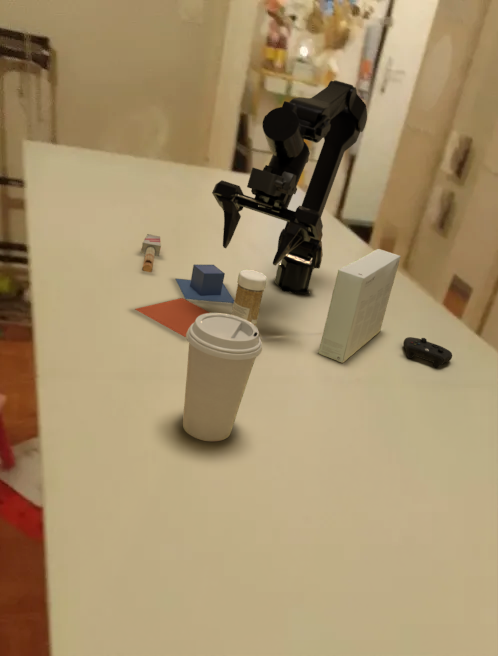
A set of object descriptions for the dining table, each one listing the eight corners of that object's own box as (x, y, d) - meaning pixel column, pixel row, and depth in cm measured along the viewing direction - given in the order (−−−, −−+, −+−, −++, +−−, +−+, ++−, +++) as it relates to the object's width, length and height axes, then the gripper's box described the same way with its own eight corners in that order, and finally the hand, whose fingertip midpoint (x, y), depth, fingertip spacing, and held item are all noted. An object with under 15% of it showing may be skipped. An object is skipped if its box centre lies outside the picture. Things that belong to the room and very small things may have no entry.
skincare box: (355, 322, 137) (378, 247, 130) (380, 332, 136) (404, 256, 128) (314, 352, 120) (337, 267, 112) (342, 364, 118) (367, 278, 111)
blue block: (209, 285, 135) (213, 264, 133) (220, 295, 132) (224, 273, 130) (189, 286, 132) (193, 264, 130) (200, 295, 129) (204, 273, 127)
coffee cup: (213, 457, 85) (236, 351, 78) (155, 424, 88) (172, 319, 81) (255, 431, 92) (279, 332, 85) (201, 401, 96) (220, 304, 89)
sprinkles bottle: (255, 354, 113) (273, 279, 107) (232, 356, 111) (248, 279, 104) (242, 342, 116) (258, 268, 110) (219, 343, 114) (234, 268, 107)
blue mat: (222, 285, 138) (223, 283, 138) (235, 305, 130) (236, 303, 130) (174, 280, 134) (175, 278, 134) (185, 300, 126) (185, 298, 126)
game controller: (452, 355, 131) (457, 343, 126) (443, 379, 130) (448, 368, 124) (405, 339, 133) (408, 326, 127) (395, 362, 132) (398, 350, 126)
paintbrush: (163, 230, 150) (157, 264, 133) (161, 242, 151) (155, 277, 135) (146, 227, 149) (137, 260, 132) (144, 238, 150) (136, 273, 134)
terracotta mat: (181, 299, 126) (182, 297, 126) (230, 325, 122) (230, 323, 121) (134, 310, 117) (134, 308, 117) (184, 339, 112) (185, 336, 112)
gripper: (222, 130, 108) (184, 219, 107) (330, 164, 104) (292, 255, 103) (238, 165, 119) (204, 245, 118) (336, 196, 115) (302, 279, 114)
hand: (248, 255), depth 113 cm, fingers open, 9 cm apart
